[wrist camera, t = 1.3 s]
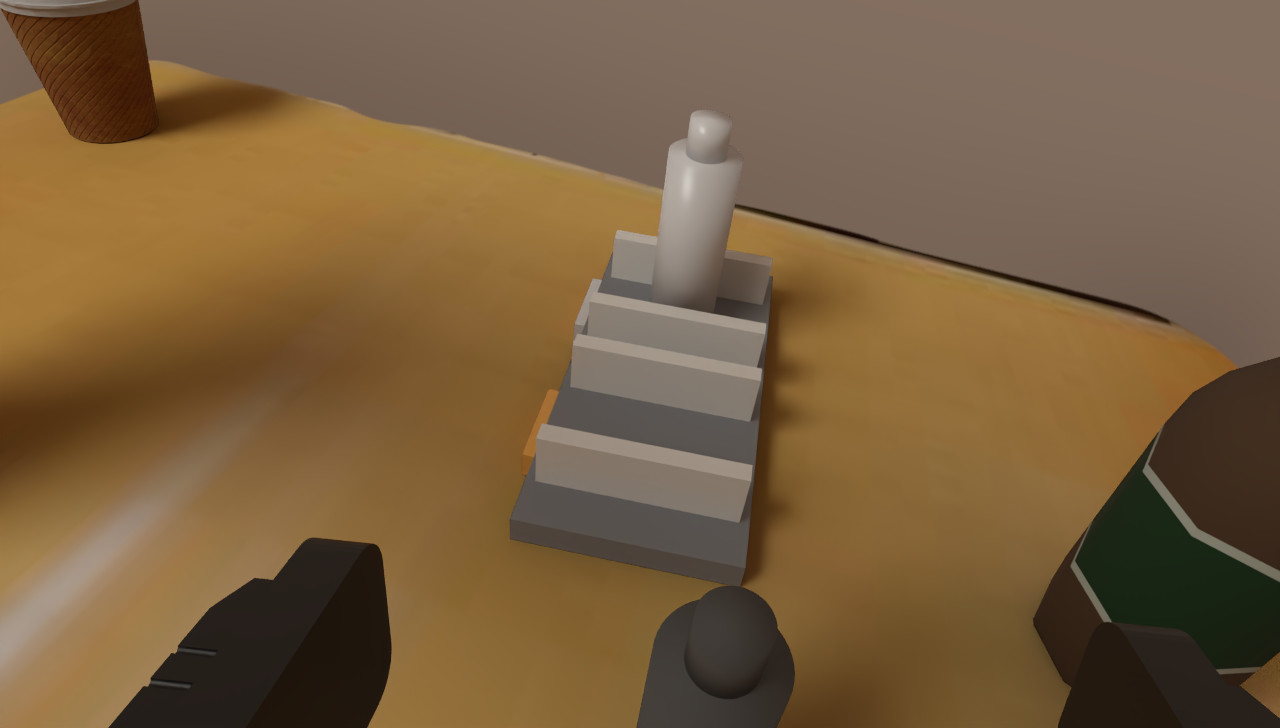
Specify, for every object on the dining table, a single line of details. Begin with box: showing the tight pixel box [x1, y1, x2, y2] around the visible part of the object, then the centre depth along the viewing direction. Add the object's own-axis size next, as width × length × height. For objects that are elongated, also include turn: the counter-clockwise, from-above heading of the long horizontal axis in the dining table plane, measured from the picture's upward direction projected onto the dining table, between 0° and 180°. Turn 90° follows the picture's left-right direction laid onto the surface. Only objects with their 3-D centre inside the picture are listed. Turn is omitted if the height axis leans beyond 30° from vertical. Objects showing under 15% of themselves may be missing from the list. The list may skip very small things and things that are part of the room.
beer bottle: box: [1033, 357, 1280, 687], centre depth 29 cm, size 8×8×24 cm
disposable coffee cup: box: [0, 0, 159, 143], centre depth 60 cm, size 10×10×12 cm
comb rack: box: [510, 230, 773, 587], centre depth 45 cm, size 24×12×4 cm, turn 170°
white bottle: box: [649, 110, 743, 314], centre depth 46 cm, size 4×4×13 cm
